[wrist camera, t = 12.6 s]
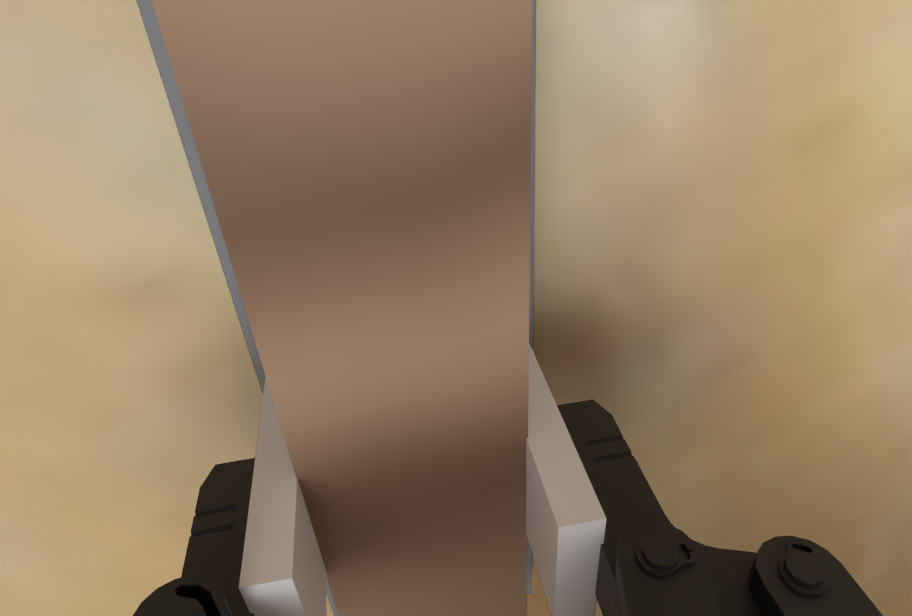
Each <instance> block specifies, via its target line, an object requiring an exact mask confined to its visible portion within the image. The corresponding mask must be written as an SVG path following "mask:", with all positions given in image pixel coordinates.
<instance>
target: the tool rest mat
mask: <svg viewBox="0 0 912 616" xmlns="http://www.w3.org/2000/svg"><path fill="white" fill-rule="evenodd" d="M136 1H137V4H138V7H139V10H140V13H141V16H142V20H143V23H144V26H145V29H146V32H147V35H148V38H149V41H150V44H151V48H152V51H153V54H154V57H155V60H156V63H157V66H158V69H159V72H160V76H161V79H162V82H163V85H164V88H165V91H166V94H167V97H168V100H169V104H170V107H171V110H172V113H173V116H174V119H175V122H176V125H177V128H178V132H179V135H180V138H181V141H182V144H183V147H184V150H185V153H186V156H187V160H188V163H189V166H190V169H191V172H192V175H193V178H194V181H195V185H196V188H197V191H198V194H199V197H200V200H201V203H202V206H203V209H204V213H205V216H206V219H207V222H208V225H209V228H210V231H211V234H212V237H213V241H214V244H215V247H216V250H217V253H218V256H219V259H220V262H221V265H222V269H223V272H224V275H225V278H226V281H227V284H228V287H229V290H230V293H231V297H232V300H233V303H234V306H235V309H236V312H237V315H238V318H239V322H240V325H241V328H242V331H243V334H244V337H245V340H246V343H247V346H248V350H249V353H250V356H251V359H252V362H253V365H254V368H255V371H256V374H257V378H258V381H259V384H260V387H261V390H262V393H263V392H264V385H265V377H266V376H265V373H264V369H263V366H262V363H261V360H260V356H259V353H258V350H257V346H256V343H255V340H254V336H253V333H252V330H251V327H250V323H249V320H248V317H247V313H246V310H245V307H244V304H243V300H242V297H241V294H240V290H239V287H238V284H237V280H236V277H235V274H234V271H233V267H232V264H231V261H230V257H229V254H228V251H227V247H226V244H225V241H224V238H223V234H222V231H221V228H220V224H219V221H218V218H217V214H216V211H215V208H214V205H213V201H212V198H211V195H210V191H209V188H208V185H207V182H206V178H205V175H204V172H203V168H202V165H201V162H200V158H199V155H198V152H197V149H196V145H195V142H194V139H193V135H192V132H191V129H190V125H189V122H188V119H187V116H186V112H185V109H184V106H183V102H182V99H181V96H180V93H179V89H178V86H177V83H176V79H175V76H174V73H173V69H172V66H171V63H170V60H169V56H168V53H167V50H166V46H165V43H164V40H163V36H162V33H161V30H160V27H159V23H158V20H157V17H156V13H155V10H154V7H153V3H152V0H136ZM535 66H536V0H532V95H531V195H530V294H529V343H530V346H531V348H532V350H533V312H534V189H535ZM531 558H532V550H531V547H530V544H529V541H528V537H527V593H526V595H527V594H531ZM326 592H327V595H328V599H329V602H330V605H331V608H332V611H333V614H334V616H338V613H337V610H336V607H335V604H334V600H333V597H332V594H331V590H330V587H329V584H328V580H327V577H326Z"/></svg>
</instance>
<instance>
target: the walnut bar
mask: <svg viewBox="0 0 912 616" xmlns="http://www.w3.org/2000/svg"><path fill="white" fill-rule="evenodd" d="M152 3H153V7H154V10H155V13H156V17H157V20H158V23H159V27H160V30H161V33H162V36H163V40H164V43H165V46H166V50H167V53H168V56H169V60H170V63H171V66H172V69H173V73H174V76H175V79H176V83H177V86H178V89H179V93H180V96H181V99H182V102H183V106H184V109H185V112H186V116H187V119H188V122H189V125H190V129H191V132H192V135H193V139H194V142H195V145H196V149H197V152H198V155H199V158H200V162H201V165H202V168H203V172H204V175H205V178H206V182H207V185H208V188H209V191H210V195H211V198H212V201H213V205H214V208H215V211H216V214H217V218H218V221H219V224H220V228H221V231H222V234H223V238H224V241H225V244H226V247H227V251H228V254H229V257H230V261H231V264H232V267H233V271H234V274H235V277H236V280H237V284H238V287H239V290H240V294H241V297H242V300H243V304H244V307H245V310H246V313H247V317H248V320H249V323H250V327H251V330H252V333H253V336H254V340H255V343H256V346H257V350H258V353H259V356H260V360H261V363H262V366H263V369H264V373H265V376H266V379H267V383H268V386H269V389H270V393H271V396H272V399H273V402H274V406H275V409H276V412H277V416H278V419H279V422H280V425H281V429H282V432H283V435H284V439H285V442H286V445H287V449H288V452H289V455H290V458H291V462H292V465H293V468H294V472H295V475H296V478H297V479H298V482H299V485H300V488H301V492H302V495H303V498H304V501H305V504H306V508H307V511H308V514H309V517H310V520H311V524H312V527H313V530H314V533H315V537H316V540H317V543H318V546H319V549H320V553H321V556H322V559H323V562H324V565H325V569H326V577H327V580H328V584H329V587H330V590H331V594H332V597H333V600H334V604H335V607H336V610H337V613H338V616H526V593H527V534H526V438H528V394H529V294H530V195H531V95H532V0H152Z"/></svg>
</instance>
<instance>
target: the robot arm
mask: <svg viewBox="0 0 912 616" xmlns="http://www.w3.org/2000/svg"><path fill="white" fill-rule="evenodd" d="M195 514H196V515H195V516H194V519H193V524H192V529H191V537H190V538H189V543H188V548H187V552H186V557H185V562H184V566H183V571H182V576H181V578H178V579H175V580H173V581H171V582H169V583H167V584H165V585H163V586H161V587H159V588H157V589H156V590H155V591H154V592H153V593H152V594H151V595H149V596H148V597H147V598H146V599H145V600H144V601H143V602H142V603H141V604H140V606H139V607H138V609H137V610H136V612H135V613H134V615H133V616H326V569H325V565H324V562H323V559H322V556H321V553H320V549H319V546H318V543H317V540H316V537H315V533H314V530H313V527H312V524H311V520H310V517H309V514H308V511H307V508H306V504H305V501H304V498H303V495H302V492H301V488H300V485H299V482H298V479H297V478H296V475H295V472H294V468H293V465H292V462H291V458H290V455H289V452H288V449H287V445H286V442H285V439H284V435H283V432H282V429H281V425H280V422H279V419H278V416H277V412H276V409H275V406H274V402H273V399H272V396H271V393H270V389H269V386H268V383H267V379H266V377H265V385H264V392H263V400H262V408H261V416H260V424H259V432H258V440H257V448H256V456H255V458H252V459H246V460H240V461H234V462H228V463H223V464H217V465H215V466H214V468H213V469H212V471H211V472H210V474H209V475H208V477H207V478H206V480H205V481H204V483H203V484H202V486H201V487H200V491H199V496H198V500H197V505H196V510H195ZM526 534H527V537H528V541H529V544H530V547H531V550H532V554H533V557H534V560H535V563H536V567H537V570H538V573H539V577H540V580H541V583H542V586H543V590H544V593H545V596H546V600H547V603H548V606H549V609H550V613H551V616H591V615H595V610H596V602H597V600H598V603H599V606H600V608H601V611H602V614H603V616H883V615H882V614H881V613H880V611H879V610H878V609H877V608H876V606H875V605H874V604H873V603H872V601H871V600H870V599H869V598H868V596H867V595H866V594H865V593H864V591H863V590H862V589H861V588H860V587H859V585H858V584H857V583H856V582H855V580H854V579H853V578H852V577H851V575H850V574H849V573H848V572H847V570H846V569H845V568H844V567H843V565H842V564H841V563H840V562H839V561H838V560H837V559H836V558H835V557H834V556H833V555H832V554H831V553H829V552H828V551H827V550H826V549H824V548H822V547H820V546H819V545H817V544H815V543H813V542H811V541H810V540H806V539H802V538H798V537H794V536H779V537H774V538H772V539H770V540H768V541H766V542H764V543H763V544H762V546H761V547H760V549H759V550H758V552H757V553H753V552H745V551H736V550H727V549H719V548H714V547H709V546H705V545H703V544H700V543H698V542H695V541H693V540H691V539H690V538H689V537H688V536H687V535H686V534H685V533H683V532H682V531H681V530H679V529H677V528H675V527H674V526H673V525H672V524H671V523H670V521H669V520H668V518H667V517H666V515H665V514H664V512H663V510H662V508H661V506H660V504H659V503H658V501H657V499H656V497H655V495H654V493H653V491H652V490H651V488H650V486H649V484H648V482H647V480H646V478H645V476H644V475H643V473H642V471H641V469H640V467H639V465H638V463H637V461H636V460H635V458H634V456H632V454H631V450H630V448H629V446H628V445H627V443H626V441H625V439H623V436H622V433H621V432H620V430H619V428H618V426H617V424H616V422H615V420H614V418H613V417H612V415H611V414H610V413H608V412H607V411H606V410H605V409H604V408H602V407H601V406H600V405H599V404H598V403H596V402H595V401H594V400H587V401H582V402H576V403H570V404H564V405H558V406H557V405H556V403H555V400H554V398H553V396H552V393H551V391H550V389H549V387H548V384H547V382H546V380H545V377H544V375H543V373H542V371H541V368H540V366H539V364H538V362H537V359H536V357H535V355H534V352H533V350H532V348H531V346H530V343H529V394H528V438H526Z"/></svg>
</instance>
